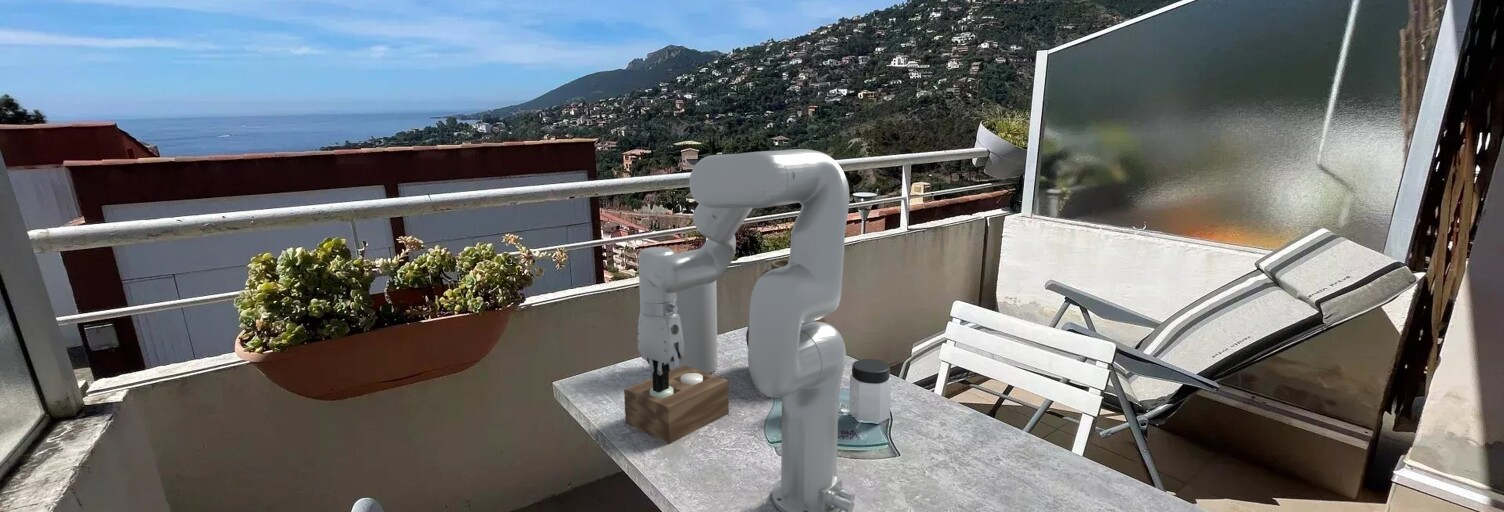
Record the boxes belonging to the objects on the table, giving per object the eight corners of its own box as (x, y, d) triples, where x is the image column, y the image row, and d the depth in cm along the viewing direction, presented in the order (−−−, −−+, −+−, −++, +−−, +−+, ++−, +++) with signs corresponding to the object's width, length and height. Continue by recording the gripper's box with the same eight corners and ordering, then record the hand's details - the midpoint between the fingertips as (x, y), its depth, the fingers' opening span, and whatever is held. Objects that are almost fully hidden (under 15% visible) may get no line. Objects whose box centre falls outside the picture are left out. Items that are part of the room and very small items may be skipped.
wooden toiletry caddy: (728, 413, 143) (728, 380, 142) (669, 443, 130) (668, 407, 128) (685, 396, 152) (684, 365, 151) (625, 423, 139) (624, 389, 137)
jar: (843, 410, 145) (845, 360, 142) (875, 405, 147) (877, 356, 145) (861, 427, 136) (863, 375, 134) (895, 422, 139) (897, 370, 136)
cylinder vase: (721, 375, 165) (719, 282, 160) (672, 379, 162) (669, 284, 157) (713, 358, 177) (712, 271, 172) (668, 362, 174) (665, 273, 169)
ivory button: (707, 393, 144) (707, 376, 143) (692, 400, 140) (691, 383, 139) (692, 387, 147) (691, 371, 146) (676, 394, 143) (675, 377, 142)
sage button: (678, 406, 137) (678, 389, 136) (661, 414, 133) (660, 396, 132) (663, 400, 140) (662, 383, 139) (645, 407, 136) (644, 390, 136)
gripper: (696, 309, 130) (698, 393, 134) (648, 297, 140) (651, 375, 144) (669, 318, 125) (672, 405, 129) (621, 304, 134) (624, 385, 138)
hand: (661, 389), depth 136 cm, fingers closed
